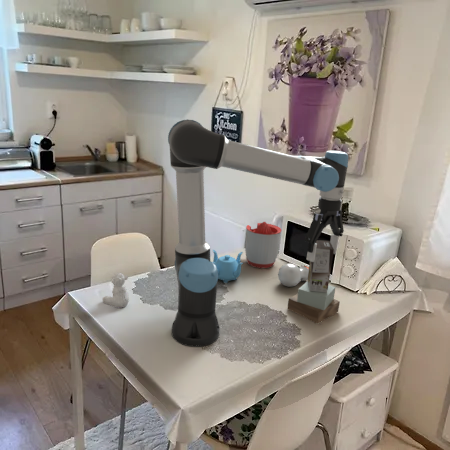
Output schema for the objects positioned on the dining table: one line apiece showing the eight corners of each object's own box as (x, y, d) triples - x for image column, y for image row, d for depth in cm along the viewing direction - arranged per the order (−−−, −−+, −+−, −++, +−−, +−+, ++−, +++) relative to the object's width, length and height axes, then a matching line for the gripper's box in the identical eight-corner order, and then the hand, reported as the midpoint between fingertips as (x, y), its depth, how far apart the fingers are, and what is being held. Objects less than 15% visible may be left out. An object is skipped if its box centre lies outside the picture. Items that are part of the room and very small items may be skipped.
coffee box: (327, 293, 148) (334, 249, 143) (309, 291, 148) (315, 247, 143) (324, 282, 157) (330, 240, 152) (306, 280, 157) (312, 238, 152)
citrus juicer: (258, 253, 205) (262, 213, 199) (284, 266, 192) (289, 224, 186) (233, 259, 196) (236, 218, 190) (259, 273, 183) (263, 229, 177)
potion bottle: (275, 290, 172) (301, 286, 181) (292, 284, 164) (318, 281, 174) (270, 267, 174) (295, 265, 183) (286, 261, 167) (312, 259, 176)
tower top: (324, 310, 146) (325, 297, 145) (296, 301, 151) (298, 288, 150) (333, 299, 154) (335, 287, 153) (307, 291, 159) (309, 279, 158)
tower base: (317, 325, 146) (319, 312, 145) (287, 310, 155) (288, 298, 153) (337, 313, 155) (339, 301, 153) (308, 300, 164) (309, 288, 162)
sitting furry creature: (127, 295, 157) (126, 265, 153) (137, 305, 150) (137, 274, 146) (101, 301, 151) (101, 270, 147) (111, 312, 145) (110, 280, 141)
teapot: (241, 273, 182) (243, 251, 179) (241, 287, 169) (243, 263, 166) (211, 271, 182) (212, 249, 179) (209, 284, 170) (210, 261, 167)
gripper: (318, 205, 133) (309, 268, 139) (359, 196, 149) (349, 252, 156) (299, 199, 138) (291, 260, 144) (341, 191, 154) (332, 246, 161)
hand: (321, 256), depth 150 cm, fingers open, 13 cm apart
